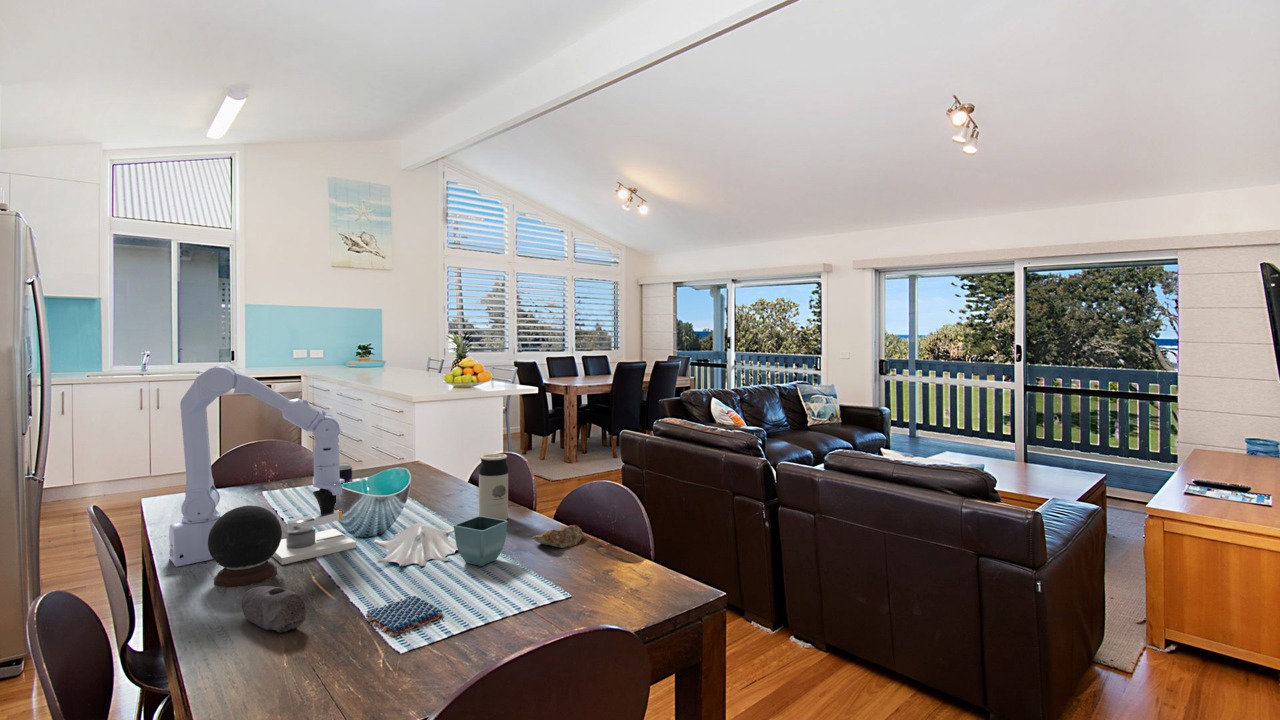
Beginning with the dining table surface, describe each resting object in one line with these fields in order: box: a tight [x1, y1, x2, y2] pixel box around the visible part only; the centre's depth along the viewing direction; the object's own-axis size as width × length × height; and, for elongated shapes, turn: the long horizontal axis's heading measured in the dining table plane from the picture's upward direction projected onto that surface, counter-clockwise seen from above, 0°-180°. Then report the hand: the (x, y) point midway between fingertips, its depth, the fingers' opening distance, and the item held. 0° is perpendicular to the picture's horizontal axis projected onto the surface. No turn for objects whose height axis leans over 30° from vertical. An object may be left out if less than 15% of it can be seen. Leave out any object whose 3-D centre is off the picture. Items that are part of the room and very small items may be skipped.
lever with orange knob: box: [286, 509, 344, 534], centre depth 149 cm, size 14×6×2 cm, turn 152°
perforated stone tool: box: [240, 585, 307, 633], centre depth 108 cm, size 15×5×7 cm, turn 61°
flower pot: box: [453, 515, 508, 567], centre depth 140 cm, size 9×9×9 cm
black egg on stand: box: [208, 505, 283, 589], centre depth 129 cm, size 13×13×15 cm
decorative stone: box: [532, 524, 583, 549], centre depth 153 cm, size 10×4×15 cm
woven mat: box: [364, 595, 444, 637], centre depth 111 cm, size 10×11×2 cm
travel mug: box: [478, 453, 509, 521], centre depth 172 cm, size 8×8×18 cm
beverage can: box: [339, 462, 353, 484], centre depth 187 cm, size 6×6×12 cm
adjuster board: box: [272, 528, 357, 565], centre depth 147 cm, size 16×14×4 cm
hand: (327, 518), depth 153 cm, fingers closed, pressing on lever with orange knob
